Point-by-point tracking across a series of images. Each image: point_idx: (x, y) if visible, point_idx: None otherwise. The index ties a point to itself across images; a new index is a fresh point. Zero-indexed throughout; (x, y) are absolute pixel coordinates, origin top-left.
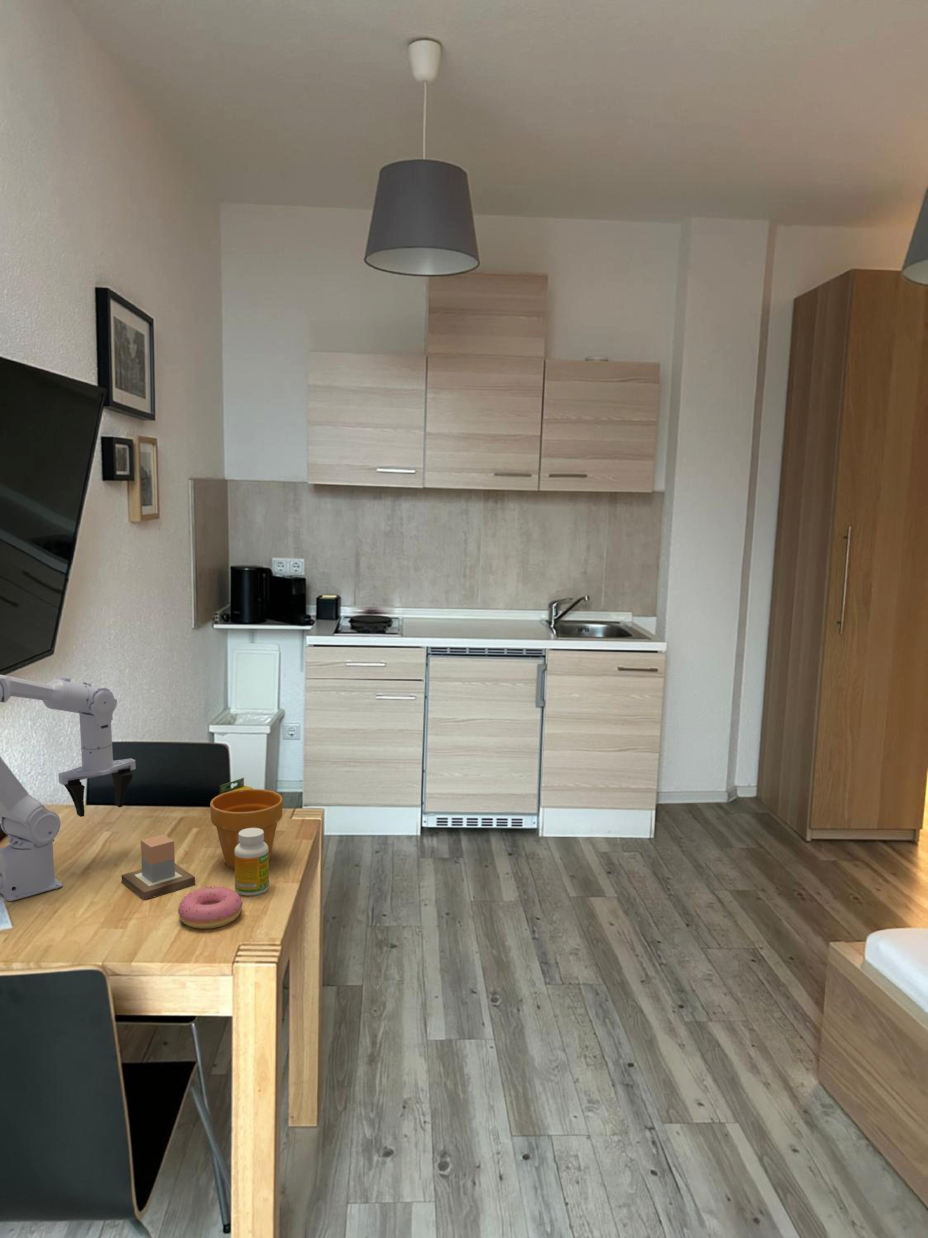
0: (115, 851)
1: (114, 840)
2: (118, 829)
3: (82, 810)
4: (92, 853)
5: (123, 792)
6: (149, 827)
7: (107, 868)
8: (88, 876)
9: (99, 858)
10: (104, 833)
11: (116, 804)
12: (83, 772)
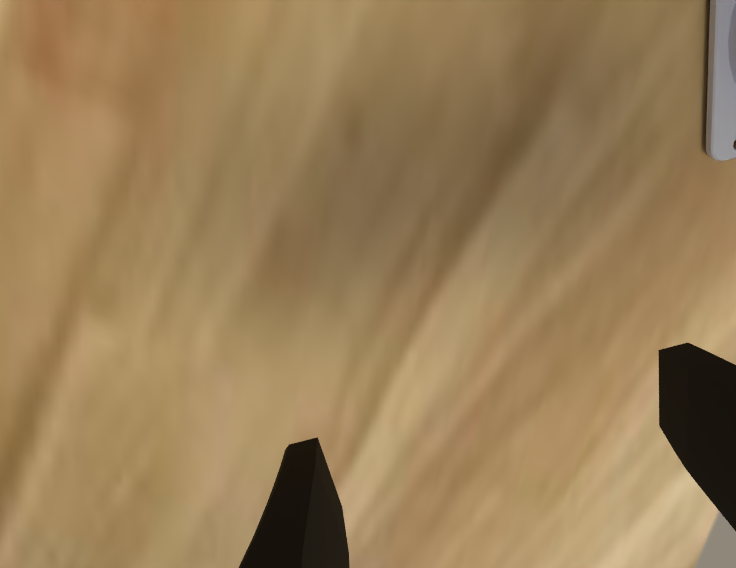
0: (328, 318)
1: None
2: None
3: (722, 371)
4: (439, 337)
5: (266, 564)
6: (134, 533)
7: (408, 93)
8: (532, 18)
9: (421, 260)
10: None
11: (336, 497)
12: None
